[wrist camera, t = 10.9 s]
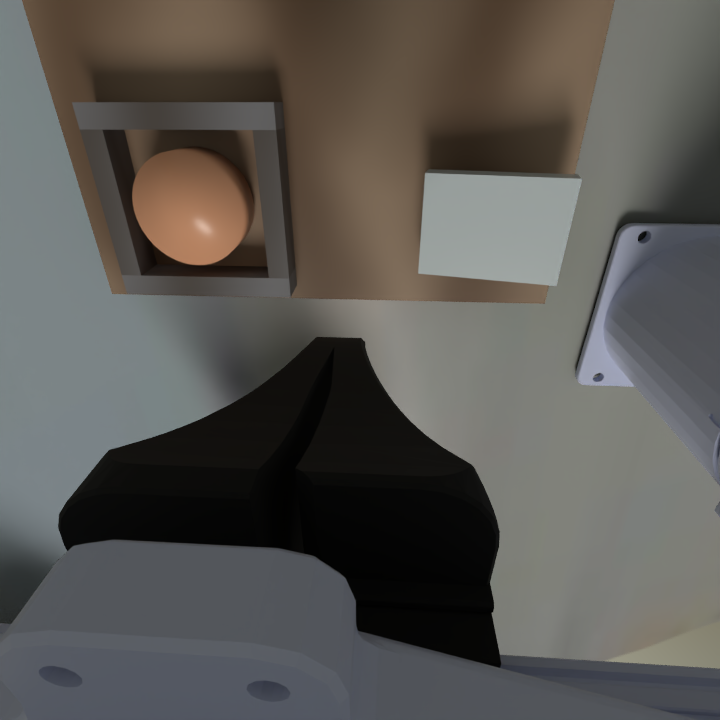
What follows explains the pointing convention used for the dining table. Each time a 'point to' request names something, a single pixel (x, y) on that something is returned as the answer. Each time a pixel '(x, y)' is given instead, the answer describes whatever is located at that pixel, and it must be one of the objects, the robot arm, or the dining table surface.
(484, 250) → the grey flat tile
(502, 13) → the panel
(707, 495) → the dining table surface
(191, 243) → the push button
